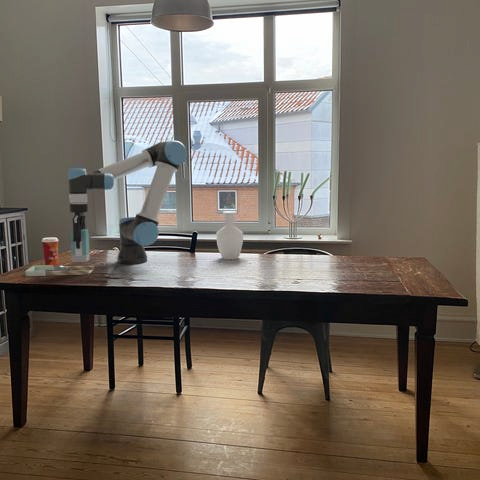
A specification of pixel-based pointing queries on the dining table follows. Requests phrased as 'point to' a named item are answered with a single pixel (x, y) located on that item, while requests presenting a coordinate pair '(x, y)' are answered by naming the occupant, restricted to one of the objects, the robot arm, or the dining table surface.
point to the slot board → (73, 271)
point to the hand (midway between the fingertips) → (80, 254)
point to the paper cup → (50, 250)
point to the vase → (229, 237)
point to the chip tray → (38, 270)
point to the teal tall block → (85, 247)
